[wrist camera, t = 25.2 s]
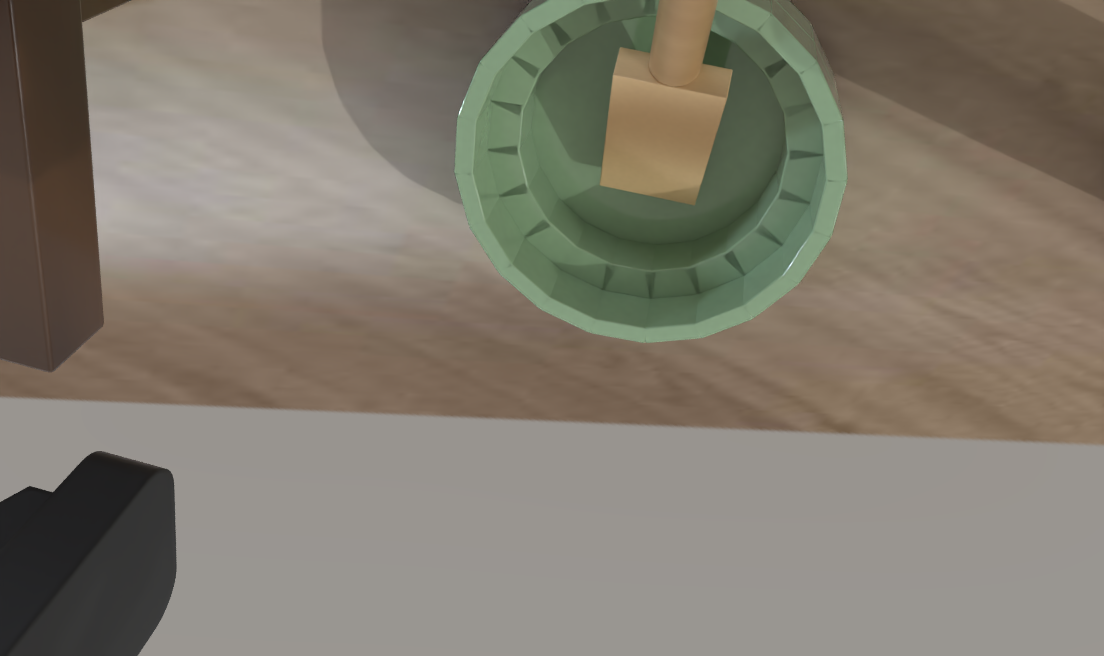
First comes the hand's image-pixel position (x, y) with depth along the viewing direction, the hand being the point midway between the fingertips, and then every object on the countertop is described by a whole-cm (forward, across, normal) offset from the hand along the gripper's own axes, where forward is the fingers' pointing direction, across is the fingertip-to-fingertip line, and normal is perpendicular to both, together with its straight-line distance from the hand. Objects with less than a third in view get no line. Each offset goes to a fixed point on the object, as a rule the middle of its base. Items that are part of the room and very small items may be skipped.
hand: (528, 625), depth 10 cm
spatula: (+28, 0, +1) cm, 28 cm away
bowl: (+36, 0, +8) cm, 37 cm away
